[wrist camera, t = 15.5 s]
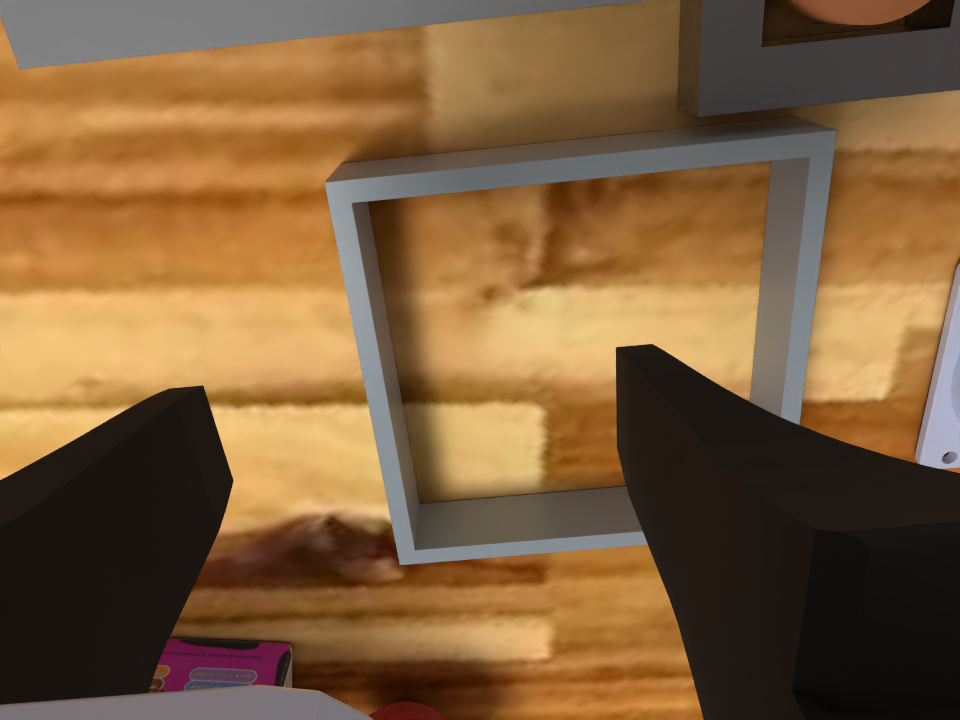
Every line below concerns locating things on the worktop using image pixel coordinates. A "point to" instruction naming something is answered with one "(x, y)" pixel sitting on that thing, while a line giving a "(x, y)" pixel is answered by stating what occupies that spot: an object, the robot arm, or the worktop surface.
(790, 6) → the button
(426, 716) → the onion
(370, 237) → the tote
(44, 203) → the worktop surface
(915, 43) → the button collar
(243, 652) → the candy bar box
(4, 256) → the worktop surface
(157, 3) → the board
